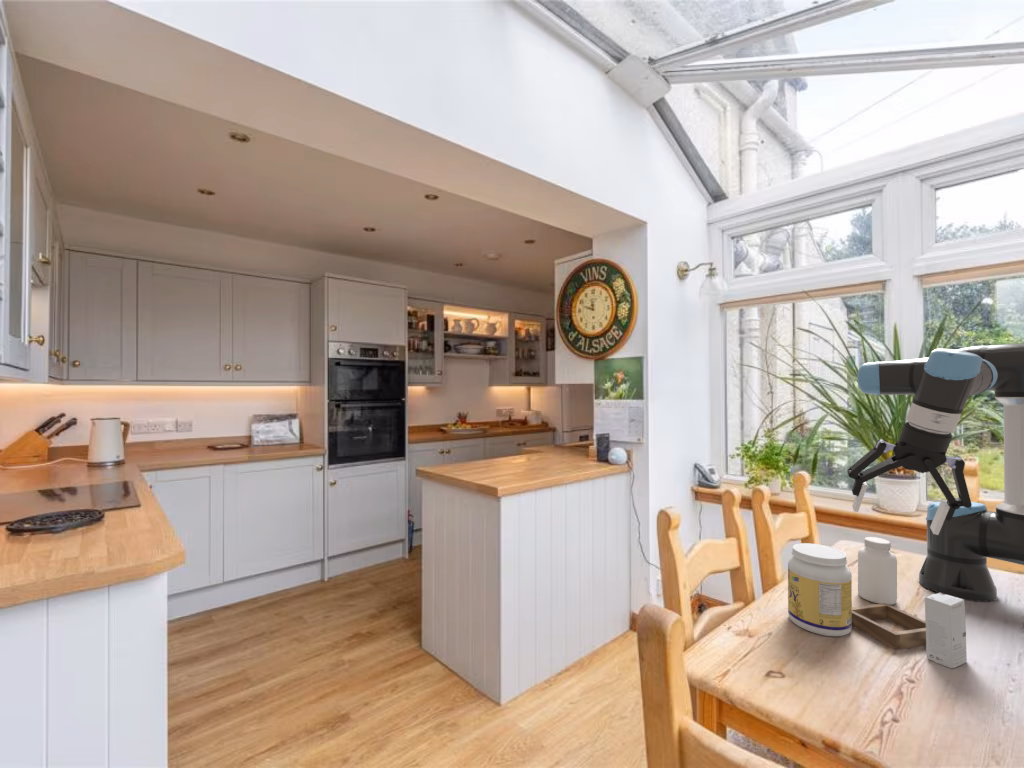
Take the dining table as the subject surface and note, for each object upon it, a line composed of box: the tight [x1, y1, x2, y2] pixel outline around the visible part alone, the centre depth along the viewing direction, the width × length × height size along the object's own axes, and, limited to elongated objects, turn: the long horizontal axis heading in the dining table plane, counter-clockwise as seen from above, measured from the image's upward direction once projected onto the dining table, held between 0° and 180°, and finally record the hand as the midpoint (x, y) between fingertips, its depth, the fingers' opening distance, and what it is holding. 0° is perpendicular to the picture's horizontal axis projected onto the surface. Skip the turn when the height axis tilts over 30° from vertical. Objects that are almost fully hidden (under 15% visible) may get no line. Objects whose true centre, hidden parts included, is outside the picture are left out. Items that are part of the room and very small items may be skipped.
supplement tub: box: [787, 542, 853, 637], centre depth 108 cm, size 12×12×17 cm
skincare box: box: [924, 592, 968, 669], centre depth 94 cm, size 6×4×12 cm
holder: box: [852, 603, 926, 651], centre depth 104 cm, size 12×12×3 cm
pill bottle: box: [857, 536, 898, 606], centre depth 121 cm, size 8×8×15 cm
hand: (893, 519), depth 100 cm, fingers open, 13 cm apart
